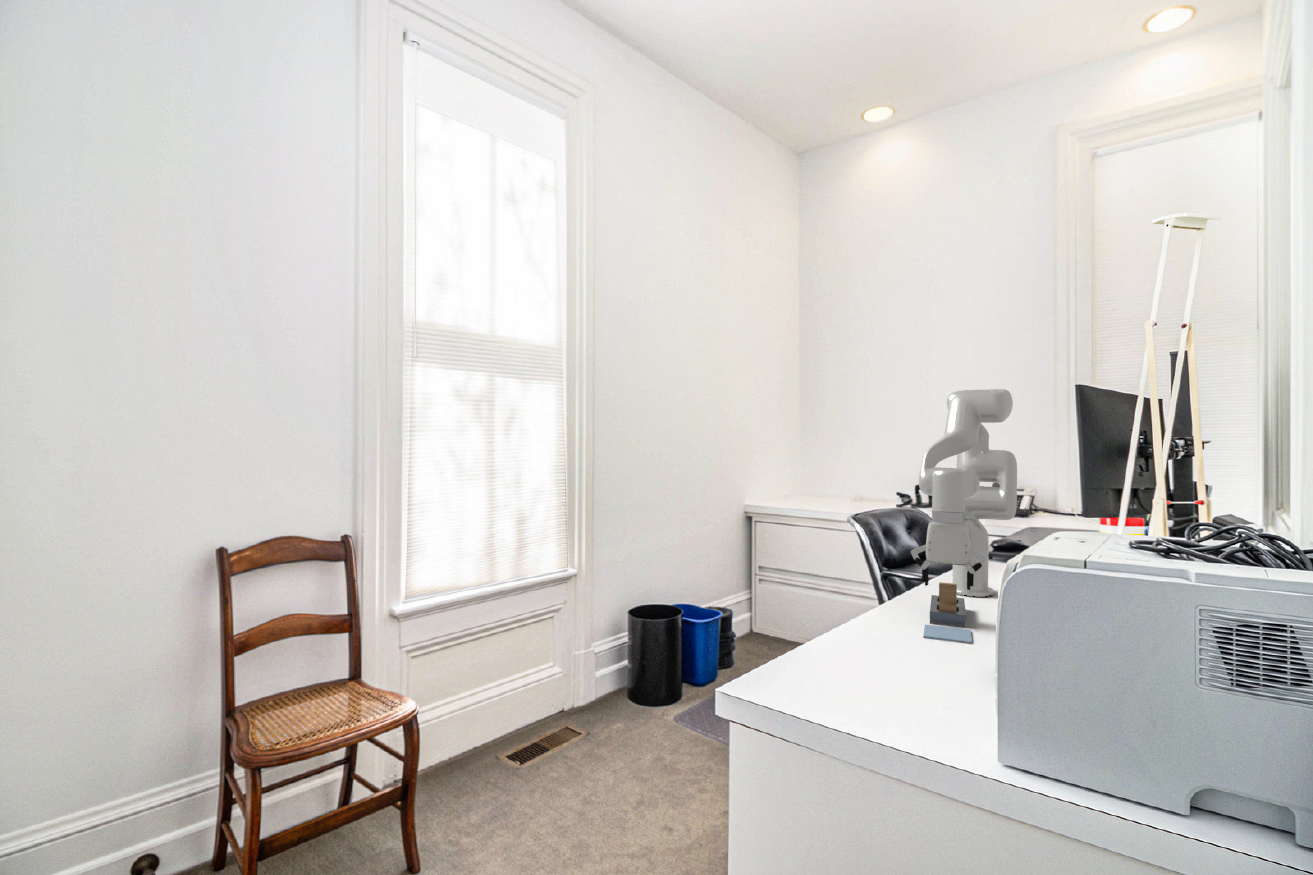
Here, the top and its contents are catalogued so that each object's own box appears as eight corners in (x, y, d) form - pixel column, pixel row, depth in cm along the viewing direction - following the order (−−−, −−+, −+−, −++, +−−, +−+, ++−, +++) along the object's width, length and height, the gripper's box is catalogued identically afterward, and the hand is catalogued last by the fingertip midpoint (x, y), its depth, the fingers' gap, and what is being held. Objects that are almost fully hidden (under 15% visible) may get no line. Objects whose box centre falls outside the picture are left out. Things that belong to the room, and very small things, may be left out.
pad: (924, 626, 157) (924, 624, 157) (970, 631, 153) (970, 629, 153) (923, 637, 148) (923, 635, 148) (971, 643, 144) (971, 642, 144)
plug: (939, 617, 165) (939, 582, 165) (956, 619, 163) (956, 583, 163) (938, 621, 161) (939, 585, 161) (956, 623, 160) (956, 587, 160)
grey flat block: (931, 606, 176) (931, 595, 176) (964, 609, 173) (964, 598, 173) (929, 623, 160) (929, 611, 160) (965, 627, 156) (965, 615, 156)
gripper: (986, 519, 162) (985, 587, 162) (912, 515, 169) (911, 580, 169) (987, 522, 155) (986, 593, 155) (910, 517, 162) (909, 585, 162)
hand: (947, 586), depth 162 cm, fingers open, 9 cm apart
